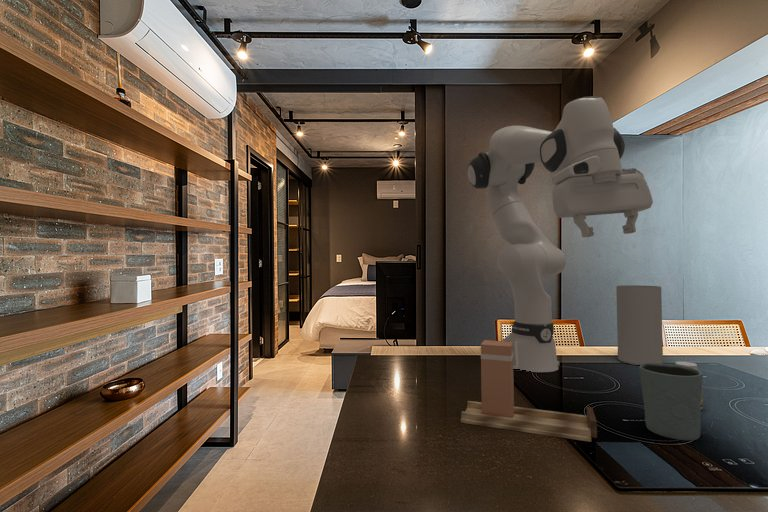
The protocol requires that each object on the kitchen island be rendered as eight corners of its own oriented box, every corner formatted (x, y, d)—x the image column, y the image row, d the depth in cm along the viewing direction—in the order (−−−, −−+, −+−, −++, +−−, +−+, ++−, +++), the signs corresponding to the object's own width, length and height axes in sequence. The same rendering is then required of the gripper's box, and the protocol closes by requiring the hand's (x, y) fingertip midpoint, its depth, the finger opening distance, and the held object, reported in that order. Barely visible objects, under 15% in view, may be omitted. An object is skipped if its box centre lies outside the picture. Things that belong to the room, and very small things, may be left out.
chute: (460, 422, 81) (460, 405, 81) (468, 407, 89) (468, 391, 90) (597, 442, 72) (597, 422, 72) (592, 424, 80) (591, 406, 80)
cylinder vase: (672, 366, 123) (670, 287, 124) (632, 367, 124) (630, 287, 124) (646, 357, 136) (644, 285, 136) (610, 357, 136) (608, 285, 137)
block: (481, 417, 81) (480, 344, 82) (485, 408, 86) (484, 340, 87) (512, 421, 79) (511, 346, 79) (514, 412, 84) (513, 341, 84)
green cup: (686, 446, 70) (685, 378, 70) (629, 426, 79) (627, 366, 79) (715, 434, 75) (713, 371, 75) (657, 416, 84) (656, 360, 84)
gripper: (630, 173, 87) (642, 234, 85) (544, 178, 84) (555, 241, 82) (652, 161, 81) (667, 227, 79) (561, 167, 78) (573, 235, 76)
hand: (609, 234), depth 80 cm, fingers open, 8 cm apart
